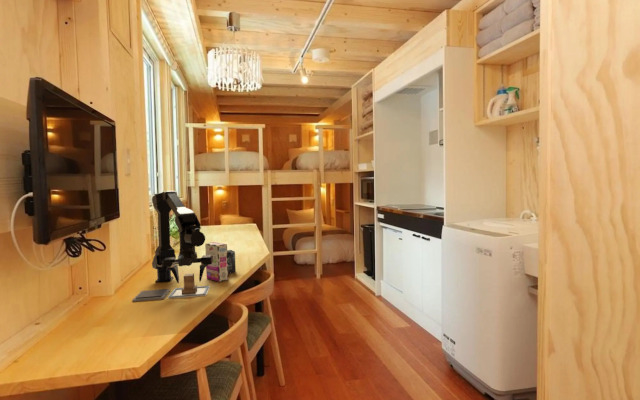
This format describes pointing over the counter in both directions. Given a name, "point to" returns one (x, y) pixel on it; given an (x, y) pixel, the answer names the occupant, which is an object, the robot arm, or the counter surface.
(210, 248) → the candy bar box
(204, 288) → the marked sheet
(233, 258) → the box
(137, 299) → the ink pad
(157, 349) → the counter surface
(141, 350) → the counter surface
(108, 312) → the counter surface
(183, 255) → the robot arm
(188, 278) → the stamp
